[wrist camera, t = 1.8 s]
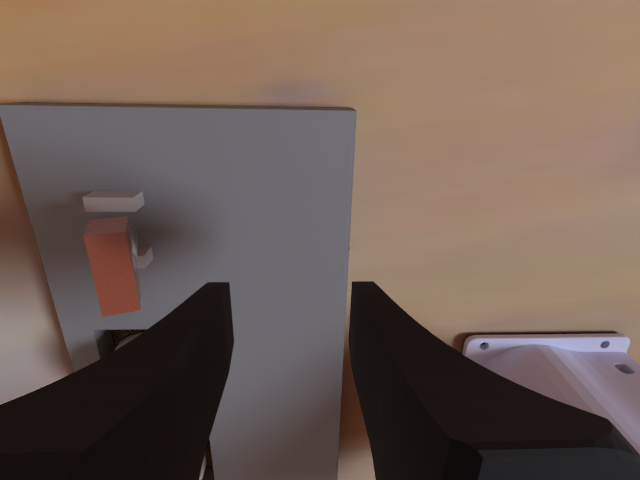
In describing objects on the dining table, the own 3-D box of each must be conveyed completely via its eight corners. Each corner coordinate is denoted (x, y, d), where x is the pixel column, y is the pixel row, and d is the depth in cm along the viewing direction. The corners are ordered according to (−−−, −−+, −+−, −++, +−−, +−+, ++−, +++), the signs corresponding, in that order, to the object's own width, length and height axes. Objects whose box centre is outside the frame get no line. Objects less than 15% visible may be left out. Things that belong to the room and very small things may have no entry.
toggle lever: (132, 194, 17) (128, 231, 13) (143, 259, 18) (143, 309, 14) (94, 198, 16) (79, 236, 12) (108, 263, 17) (99, 317, 13)
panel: (352, 107, 17) (359, 113, 15) (334, 479, 27) (337, 518, 24) (22, 102, 17) (-24, 106, 14) (122, 485, 26) (105, 525, 24)
